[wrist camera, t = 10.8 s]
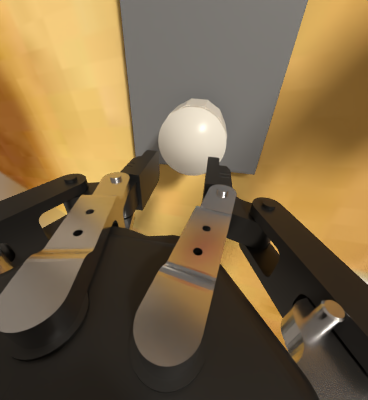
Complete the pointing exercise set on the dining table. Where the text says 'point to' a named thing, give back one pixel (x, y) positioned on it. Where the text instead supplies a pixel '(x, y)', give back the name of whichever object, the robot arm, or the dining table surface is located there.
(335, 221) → the dining table surface
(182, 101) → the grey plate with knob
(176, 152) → the white domed knob
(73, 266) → the robot arm
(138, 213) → the dining table surface
